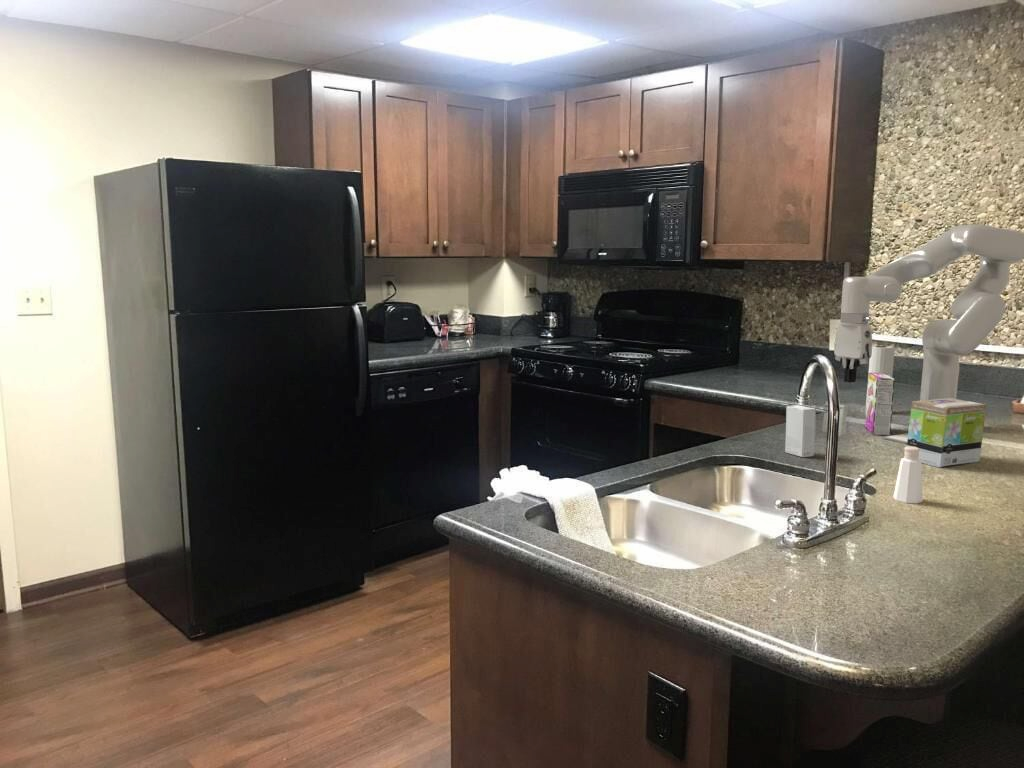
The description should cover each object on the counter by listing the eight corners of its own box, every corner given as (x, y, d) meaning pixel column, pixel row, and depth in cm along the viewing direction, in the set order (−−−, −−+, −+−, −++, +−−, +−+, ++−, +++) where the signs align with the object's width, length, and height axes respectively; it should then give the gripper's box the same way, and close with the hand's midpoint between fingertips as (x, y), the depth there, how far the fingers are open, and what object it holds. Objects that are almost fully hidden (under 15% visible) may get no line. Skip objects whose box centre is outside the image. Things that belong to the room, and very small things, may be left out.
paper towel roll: (865, 412, 263) (870, 346, 259) (865, 409, 268) (870, 344, 265) (890, 414, 260) (895, 347, 257) (889, 411, 266) (894, 346, 262)
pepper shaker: (920, 505, 164) (925, 451, 162) (891, 500, 167) (895, 448, 165) (923, 498, 169) (928, 446, 167) (894, 494, 171) (899, 443, 170)
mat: (911, 434, 231) (912, 432, 231) (966, 445, 218) (966, 443, 218) (881, 438, 225) (882, 436, 225) (936, 450, 211) (936, 448, 211)
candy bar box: (863, 427, 240) (867, 372, 237) (881, 428, 239) (886, 372, 236) (871, 435, 229) (876, 377, 226) (891, 436, 228) (895, 378, 225)
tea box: (941, 468, 193) (947, 407, 191) (904, 459, 202) (909, 400, 200) (981, 462, 200) (987, 402, 198) (943, 453, 209) (949, 396, 207)
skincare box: (814, 456, 204) (818, 408, 202) (801, 458, 202) (804, 409, 200) (796, 450, 209) (799, 404, 208) (783, 452, 208) (786, 405, 206)
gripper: (885, 321, 233) (880, 384, 236) (841, 317, 246) (837, 377, 249) (867, 321, 230) (862, 386, 233) (824, 318, 243) (820, 379, 246)
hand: (849, 381), depth 241 cm, fingers closed
